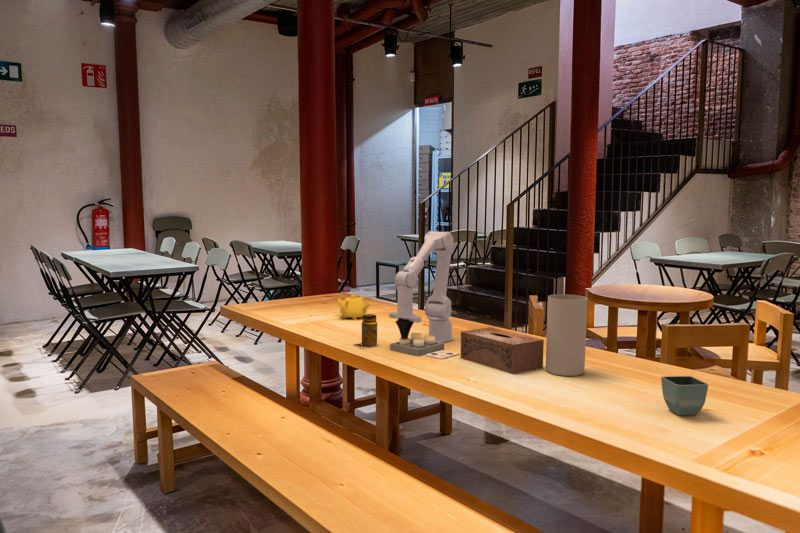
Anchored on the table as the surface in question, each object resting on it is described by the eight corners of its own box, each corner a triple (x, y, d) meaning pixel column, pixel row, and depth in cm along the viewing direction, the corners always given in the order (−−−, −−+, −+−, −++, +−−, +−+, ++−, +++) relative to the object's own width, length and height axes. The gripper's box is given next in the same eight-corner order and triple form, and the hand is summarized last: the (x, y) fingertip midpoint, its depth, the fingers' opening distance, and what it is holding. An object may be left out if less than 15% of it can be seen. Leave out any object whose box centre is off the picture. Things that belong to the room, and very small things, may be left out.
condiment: (381, 346, 245) (381, 315, 244) (362, 348, 241) (362, 317, 240) (371, 342, 251) (371, 312, 250) (353, 345, 247) (353, 314, 246)
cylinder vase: (537, 369, 214) (540, 295, 211) (568, 365, 219) (570, 293, 216) (561, 378, 202) (564, 300, 200) (592, 374, 207) (595, 299, 205)
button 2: (415, 339, 247) (415, 332, 247) (423, 341, 244) (423, 333, 244) (408, 341, 244) (408, 333, 244) (416, 342, 241) (416, 335, 241)
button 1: (404, 344, 242) (404, 337, 242) (412, 346, 240) (412, 338, 239) (397, 346, 239) (397, 338, 239) (404, 348, 237) (405, 340, 236)
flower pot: (658, 407, 174) (660, 375, 173) (689, 407, 175) (691, 375, 174) (675, 418, 165) (676, 385, 164) (707, 418, 166) (709, 384, 165)
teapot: (381, 317, 307) (381, 294, 306) (359, 323, 292) (359, 299, 291) (347, 313, 318) (348, 291, 317) (325, 318, 303) (325, 295, 302)
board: (416, 343, 250) (416, 337, 250) (444, 349, 241) (444, 343, 240) (390, 349, 239) (390, 343, 239) (418, 356, 230) (418, 349, 229)
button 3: (418, 345, 238) (418, 337, 237) (426, 346, 235) (426, 338, 235) (411, 346, 235) (411, 338, 234) (419, 348, 232) (419, 340, 232)
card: (442, 351, 238) (442, 349, 238) (459, 354, 233) (459, 353, 233) (424, 355, 231) (424, 354, 231) (442, 359, 225) (442, 357, 225)
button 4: (429, 342, 242) (429, 334, 242) (437, 344, 240) (437, 336, 239) (422, 344, 239) (422, 336, 239) (430, 345, 237) (430, 337, 236)
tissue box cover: (460, 358, 228) (460, 331, 227) (489, 353, 236) (490, 327, 235) (512, 374, 207) (513, 344, 206) (542, 368, 215) (543, 339, 214)
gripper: (383, 302, 240) (383, 337, 241) (412, 306, 230) (412, 343, 231) (396, 300, 245) (396, 334, 246) (425, 304, 235) (424, 340, 237)
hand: (404, 338), depth 239 cm, fingers closed, pressing on button 1
